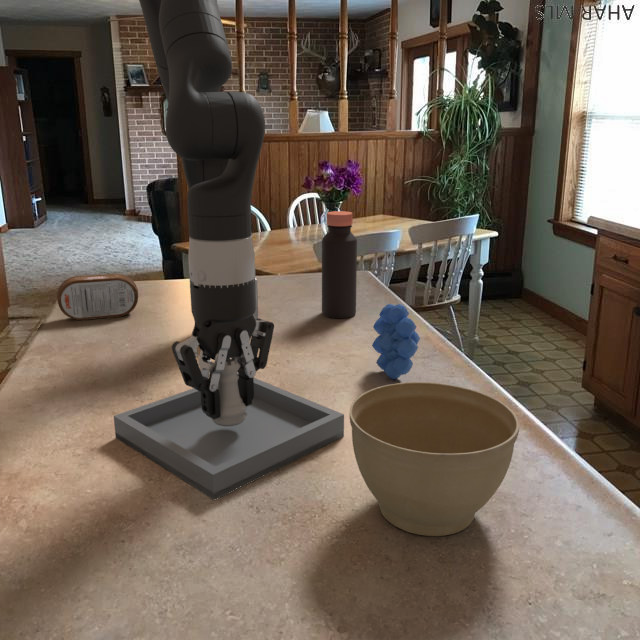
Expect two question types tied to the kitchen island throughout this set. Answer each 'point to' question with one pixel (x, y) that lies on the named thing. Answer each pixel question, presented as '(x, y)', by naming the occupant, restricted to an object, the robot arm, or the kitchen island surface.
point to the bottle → (339, 266)
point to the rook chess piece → (230, 396)
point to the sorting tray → (228, 436)
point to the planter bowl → (431, 452)
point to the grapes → (395, 340)
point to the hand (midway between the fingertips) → (228, 409)
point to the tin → (97, 296)
